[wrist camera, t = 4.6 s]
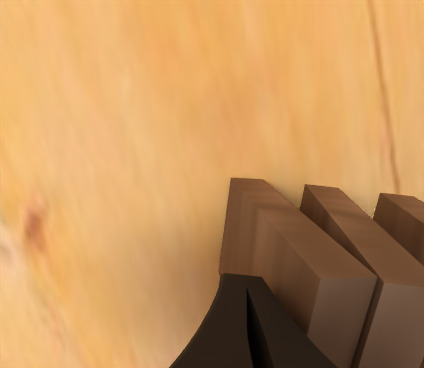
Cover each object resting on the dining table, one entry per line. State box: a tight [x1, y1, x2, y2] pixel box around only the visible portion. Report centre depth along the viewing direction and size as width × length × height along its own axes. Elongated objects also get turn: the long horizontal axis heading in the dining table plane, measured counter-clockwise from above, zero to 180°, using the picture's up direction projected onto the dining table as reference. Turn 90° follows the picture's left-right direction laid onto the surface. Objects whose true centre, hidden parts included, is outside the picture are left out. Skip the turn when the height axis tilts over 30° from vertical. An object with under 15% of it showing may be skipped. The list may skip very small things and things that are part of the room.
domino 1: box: [219, 178, 377, 368], centre depth 13 cm, size 2×5×8 cm, turn 174°
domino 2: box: [300, 184, 424, 368], centre depth 13 cm, size 2×5×8 cm, turn 174°
